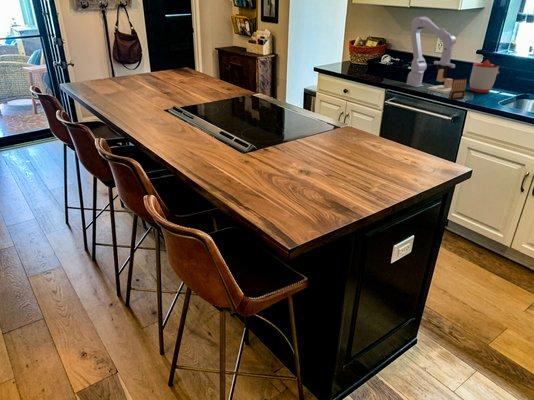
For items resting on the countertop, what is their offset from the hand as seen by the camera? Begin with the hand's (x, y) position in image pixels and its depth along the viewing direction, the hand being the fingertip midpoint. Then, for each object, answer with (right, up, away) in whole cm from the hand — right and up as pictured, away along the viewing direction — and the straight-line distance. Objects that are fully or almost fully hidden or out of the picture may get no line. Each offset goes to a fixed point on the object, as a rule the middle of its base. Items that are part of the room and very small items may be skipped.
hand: (441, 77), depth 275 cm
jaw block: (0, -2, +1) cm, 2 cm away
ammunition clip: (+3, -17, -13) cm, 22 cm away
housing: (+3, -7, +6) cm, 10 cm away
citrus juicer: (+29, -7, +7) cm, 31 cm away
